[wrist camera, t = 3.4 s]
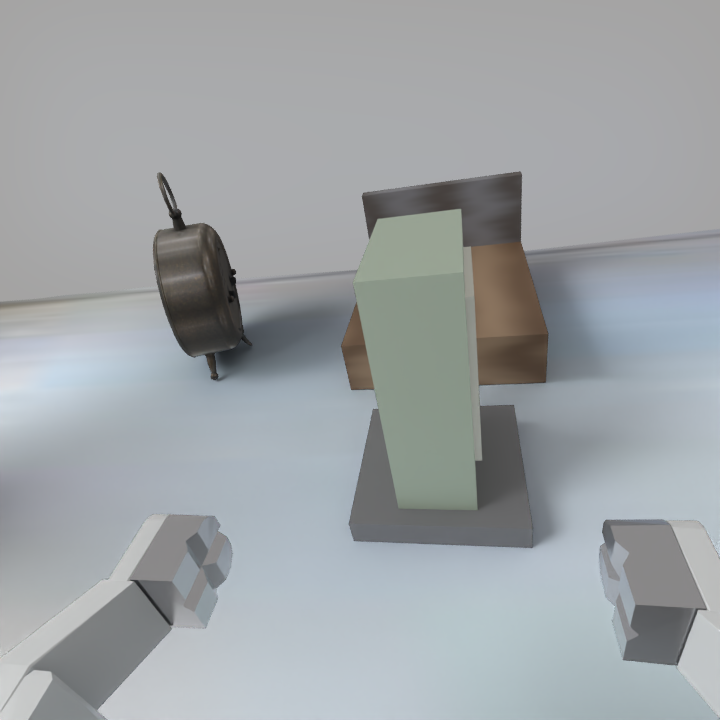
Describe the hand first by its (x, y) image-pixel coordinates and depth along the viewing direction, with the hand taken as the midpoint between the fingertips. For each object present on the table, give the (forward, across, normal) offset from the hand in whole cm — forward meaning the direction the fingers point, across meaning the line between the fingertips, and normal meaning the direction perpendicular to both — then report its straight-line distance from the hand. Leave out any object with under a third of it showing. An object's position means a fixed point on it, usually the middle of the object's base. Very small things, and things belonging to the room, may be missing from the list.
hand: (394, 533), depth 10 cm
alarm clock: (+28, +20, +13) cm, 37 cm away
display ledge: (+30, 0, +13) cm, 33 cm away
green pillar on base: (+13, +1, +13) cm, 19 cm away
